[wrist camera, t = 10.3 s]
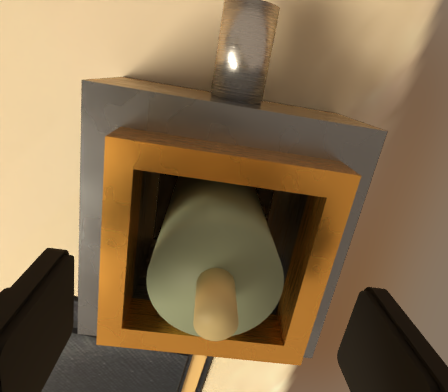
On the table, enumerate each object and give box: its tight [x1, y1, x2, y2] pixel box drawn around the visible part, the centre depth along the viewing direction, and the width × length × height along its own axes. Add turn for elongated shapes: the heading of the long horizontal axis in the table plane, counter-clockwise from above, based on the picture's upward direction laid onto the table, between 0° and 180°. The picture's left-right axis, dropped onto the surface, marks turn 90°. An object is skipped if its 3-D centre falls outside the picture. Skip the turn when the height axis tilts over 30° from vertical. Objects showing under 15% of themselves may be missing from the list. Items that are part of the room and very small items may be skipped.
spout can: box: [146, 176, 284, 341], centre depth 15 cm, size 5×5×11 cm
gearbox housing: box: [78, 0, 388, 365], centre depth 16 cm, size 16×12×8 cm
